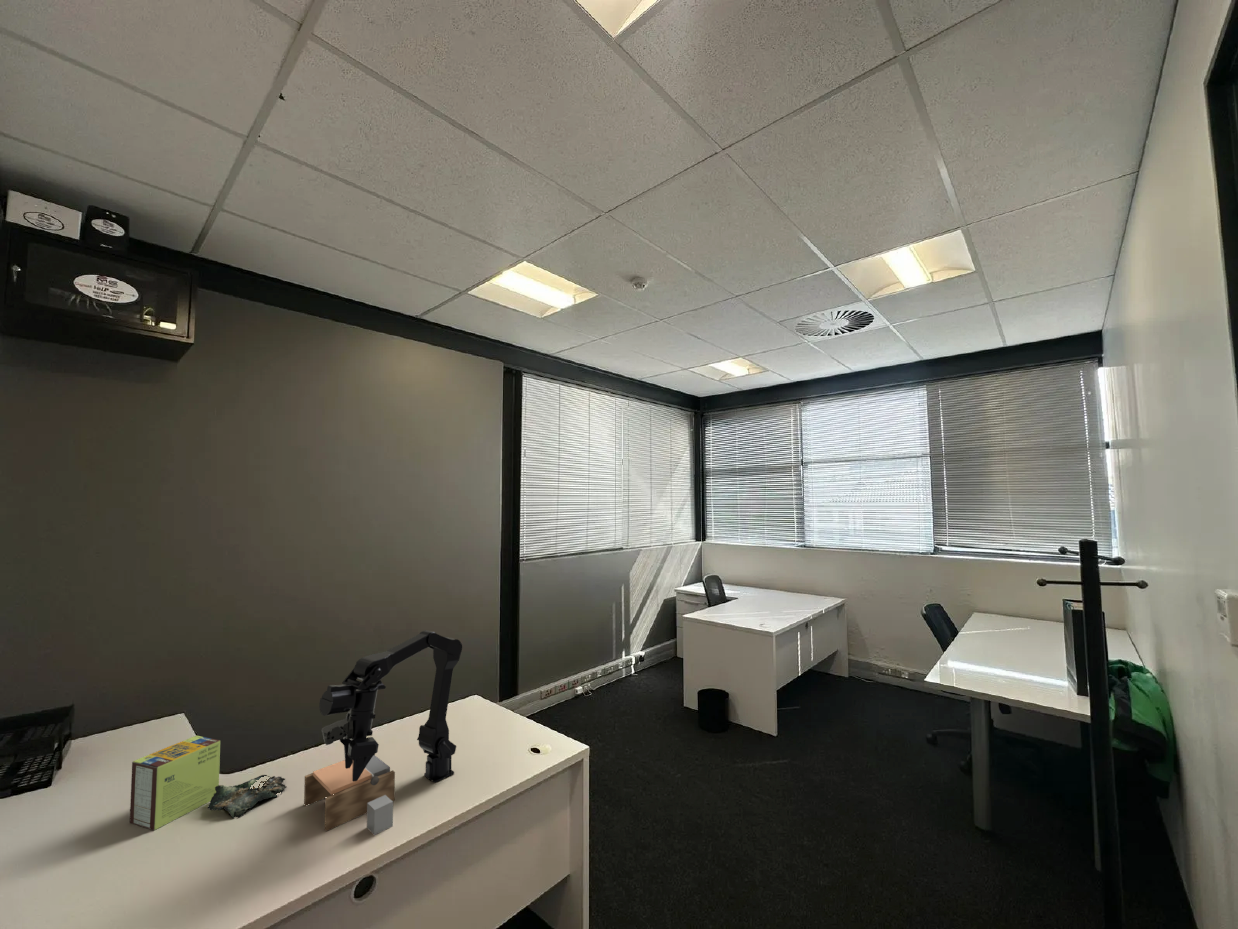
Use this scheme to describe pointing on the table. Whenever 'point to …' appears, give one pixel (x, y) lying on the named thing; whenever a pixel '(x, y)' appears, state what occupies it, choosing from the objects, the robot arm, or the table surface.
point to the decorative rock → (244, 795)
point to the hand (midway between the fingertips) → (351, 774)
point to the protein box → (174, 781)
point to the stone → (379, 814)
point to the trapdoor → (348, 775)
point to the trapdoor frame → (348, 797)
